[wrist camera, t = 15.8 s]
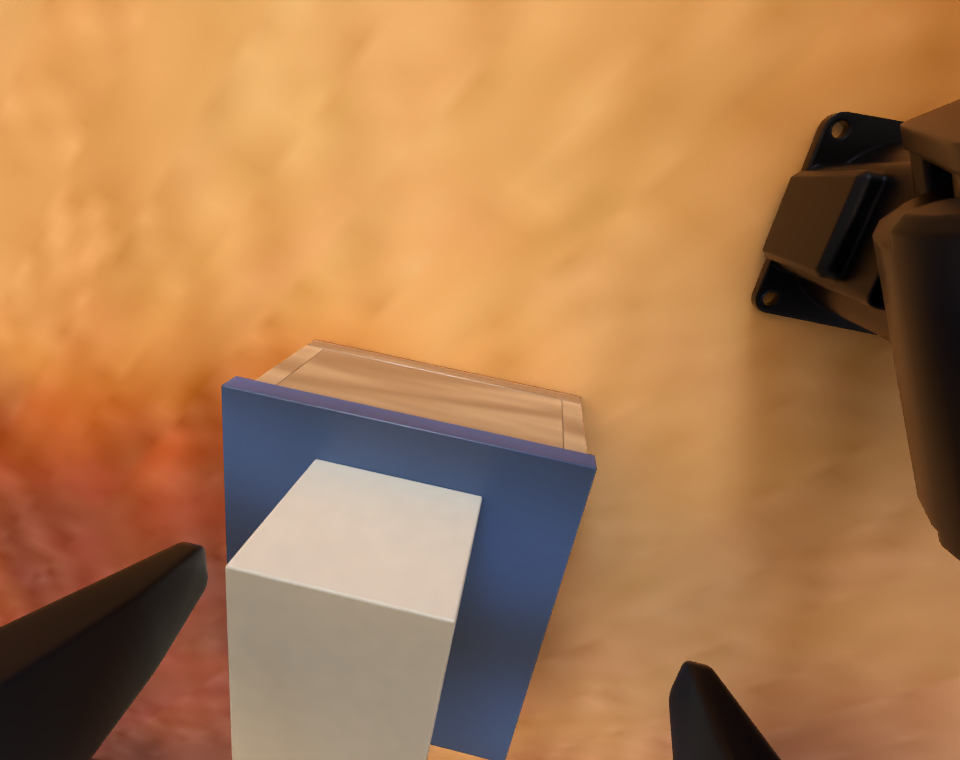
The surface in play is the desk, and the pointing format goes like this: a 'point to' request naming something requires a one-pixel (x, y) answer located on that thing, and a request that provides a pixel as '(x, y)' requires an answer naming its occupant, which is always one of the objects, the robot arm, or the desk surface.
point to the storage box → (434, 393)
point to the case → (346, 617)
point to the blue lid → (448, 464)
